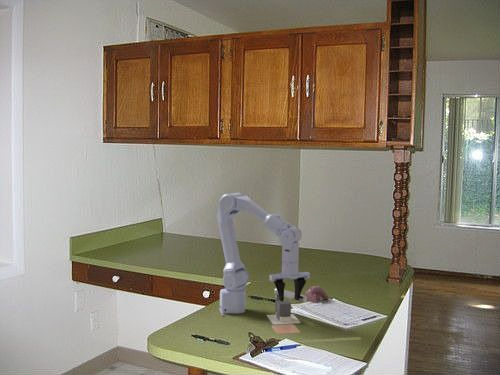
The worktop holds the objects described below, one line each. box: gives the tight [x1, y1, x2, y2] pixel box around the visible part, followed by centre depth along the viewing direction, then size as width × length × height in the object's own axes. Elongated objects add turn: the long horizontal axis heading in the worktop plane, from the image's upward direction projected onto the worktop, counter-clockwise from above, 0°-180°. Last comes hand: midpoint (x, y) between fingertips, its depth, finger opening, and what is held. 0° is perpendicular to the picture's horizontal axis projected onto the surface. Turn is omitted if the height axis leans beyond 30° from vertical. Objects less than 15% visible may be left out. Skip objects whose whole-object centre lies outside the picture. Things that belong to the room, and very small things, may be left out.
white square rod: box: [274, 287, 308, 303], centre depth 186 cm, size 2×14×2 cm, turn 45°
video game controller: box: [305, 285, 329, 304], centre depth 208 cm, size 10×5×7 cm, turn 141°
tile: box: [271, 324, 301, 335], centre depth 173 cm, size 8×8×1 cm
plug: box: [277, 299, 292, 321], centre depth 182 cm, size 4×4×6 cm
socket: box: [266, 295, 302, 326], centre depth 185 cm, size 10×14×7 cm
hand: (289, 300), depth 181 cm, fingers open, 5 cm apart
